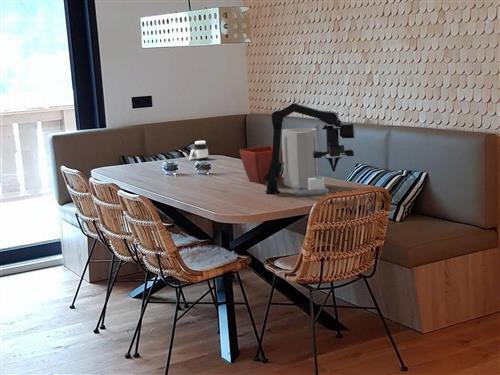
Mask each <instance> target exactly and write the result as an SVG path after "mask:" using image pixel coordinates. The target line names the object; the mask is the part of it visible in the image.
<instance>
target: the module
mask: <svg viewBox="0 0 500 375" xmlns="http://www.w3.org/2000/svg"><path fill="white" fill-rule="evenodd" d="M324 186H325V178H324V177H322V176H319V177H315V178H308V187H309V190H313V189H325V187H324Z"/></svg>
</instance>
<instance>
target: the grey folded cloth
mask: <svg viewBox="0 0 500 375" xmlns="http://www.w3.org/2000/svg"><path fill="white" fill-rule="evenodd" d="M324 187H325V189H313V190H309V187H298V185H295V189H294V194H295V196H296V197H310V196H325V195H324V194H327V193H329V188H327V185H324Z"/></svg>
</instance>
